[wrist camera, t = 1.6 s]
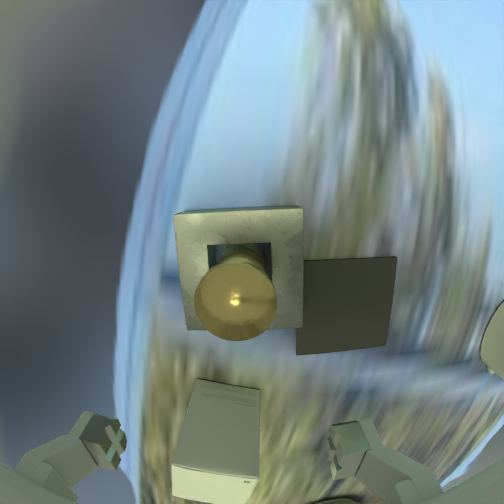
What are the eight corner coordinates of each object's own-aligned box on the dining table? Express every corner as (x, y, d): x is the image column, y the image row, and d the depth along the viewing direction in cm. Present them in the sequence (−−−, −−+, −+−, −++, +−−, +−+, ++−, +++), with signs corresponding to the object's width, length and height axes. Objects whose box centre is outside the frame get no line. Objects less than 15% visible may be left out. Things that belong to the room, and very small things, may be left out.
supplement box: (195, 376, 35) (169, 463, 20) (261, 388, 35) (262, 478, 20) (190, 418, 37) (170, 496, 22) (248, 428, 37) (245, 509, 22)
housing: (296, 205, 29) (302, 208, 25) (297, 310, 32) (302, 327, 28) (184, 211, 30) (173, 215, 26) (194, 314, 32) (187, 330, 29)
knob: (269, 234, 30) (276, 263, 19) (271, 288, 32) (277, 339, 21) (213, 237, 30) (189, 266, 19) (217, 289, 32) (198, 340, 21)
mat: (395, 256, 30) (397, 257, 30) (383, 343, 33) (385, 345, 33) (297, 261, 31) (298, 261, 30) (296, 353, 33) (296, 355, 33)
